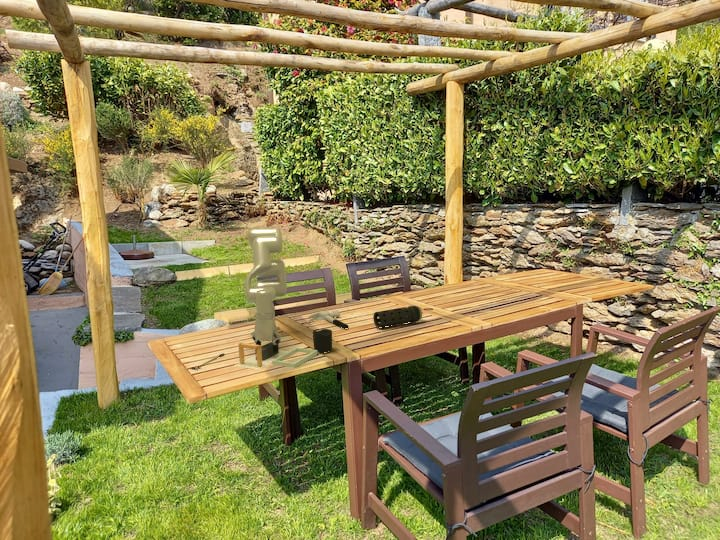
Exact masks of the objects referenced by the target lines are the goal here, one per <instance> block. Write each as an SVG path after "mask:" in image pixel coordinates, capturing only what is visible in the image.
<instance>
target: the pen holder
mask: <svg viewBox="0 0 720 540" xmlns="http://www.w3.org/2000/svg"><path fill="white" fill-rule="evenodd" d="M312 339H313V340H312V341H313V350H318V353H324V352H328V351H331V350H332V351H333V330H332V329H328V328H322V329H320V330H312ZM332 351H331V352H332Z"/></svg>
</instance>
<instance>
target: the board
mask: <svg viewBox="0 0 720 540" xmlns="http://www.w3.org/2000/svg"><path fill="white" fill-rule="evenodd" d="M289 351H290V350H289ZM289 351H288V350H283V349H279V353H278V354H276V355H274V356H272V357H270V358H268V359H266V360H265V361H262V366H260V367H259V366H257V360H256V354H254V355H252V356H250V357H248V358H245V359H244V360H245V362H244V363H242V364H240V362H238V363H237V364H234V365H233V366H234V367H238V368H239V367H240V368H246V369H251V370H257V371H259V370H261V369H263V368H264V367H266V366H268V365H270V364H272V360H274V359H276V358H278V357H280V356H282V355H284V354H285V353H287V352H289Z"/></svg>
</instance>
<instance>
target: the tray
mask: <svg viewBox="0 0 720 540" xmlns="http://www.w3.org/2000/svg"><path fill="white" fill-rule="evenodd" d="M296 353H303V354H304V353H305V354H307V355H305V356H303V357H302V358H299V360H296V361H295V362H290V361H284V360H285V359H286V358H289V357H291V356H292V355H293V354H296ZM318 353H319V352H318V350H314V349H311V348H310V349H309V348H302V347H295V348H293V349H291V350H289V352H287V353H285V354H284V355H282V356H280V357H278V358H276V359H274V360H272V363H271V364H272V365H274V366H275V365H276V366H281V367H282V366H283V367H287V368H289V367H290V368H296V367H297V366H299V365H301V364H302V365H304V364H305V363H304V362H306V361H307V362H309V361H310V360H309V359H311V358H312V359H314V358H315V357H314V356H316V355H317V354H318ZM318 355H319V354H318ZM313 357H314V358H313ZM316 357H317V356H316ZM312 359H311V360H312ZM308 360H309V361H308ZM307 362H306V363H307ZM303 363H304V364H303ZM302 365H301V366H302ZM299 367H300V366H299ZM296 369H297V368H296Z"/></svg>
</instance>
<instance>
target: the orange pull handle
mask: <svg viewBox="0 0 720 540" xmlns="http://www.w3.org/2000/svg"><path fill="white" fill-rule="evenodd" d="M237 346H238V358H239V360H238V361H239V363H240V364H242V363H244V362H245V360H246V359H245V349H250V350H255V349H256V351H257V366H259V367H260V366H262V350H261V346H262V344H261V345H256V343H255V344H253V343H245V342H240V343H238V345H237Z"/></svg>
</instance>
